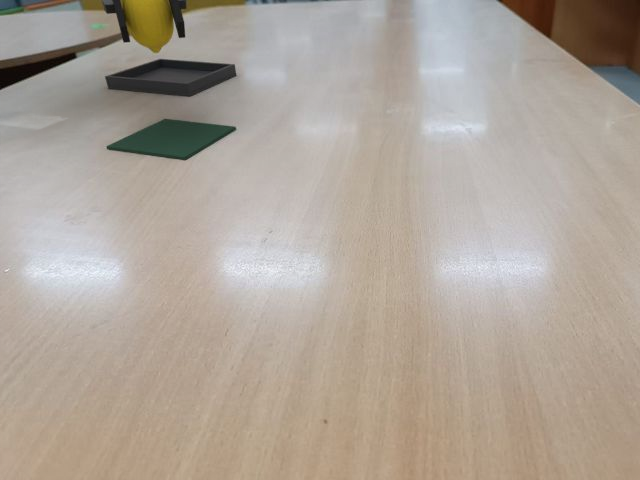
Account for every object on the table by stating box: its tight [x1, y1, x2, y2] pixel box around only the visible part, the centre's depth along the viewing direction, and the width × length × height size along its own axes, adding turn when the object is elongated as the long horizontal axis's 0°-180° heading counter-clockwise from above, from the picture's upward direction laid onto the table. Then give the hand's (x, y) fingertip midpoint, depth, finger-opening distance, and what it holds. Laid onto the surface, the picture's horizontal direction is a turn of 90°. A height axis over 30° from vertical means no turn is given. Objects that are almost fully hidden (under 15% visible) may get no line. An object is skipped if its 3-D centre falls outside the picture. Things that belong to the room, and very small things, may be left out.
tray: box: [104, 58, 237, 97], centre depth 94 cm, size 17×15×2 cm
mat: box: [106, 118, 237, 161], centre depth 69 cm, size 12×12×1 cm
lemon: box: [122, 0, 175, 54], centre depth 61 cm, size 6×6×8 cm
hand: (153, 32), depth 59 cm, fingers closed on lemon, 5 cm apart
